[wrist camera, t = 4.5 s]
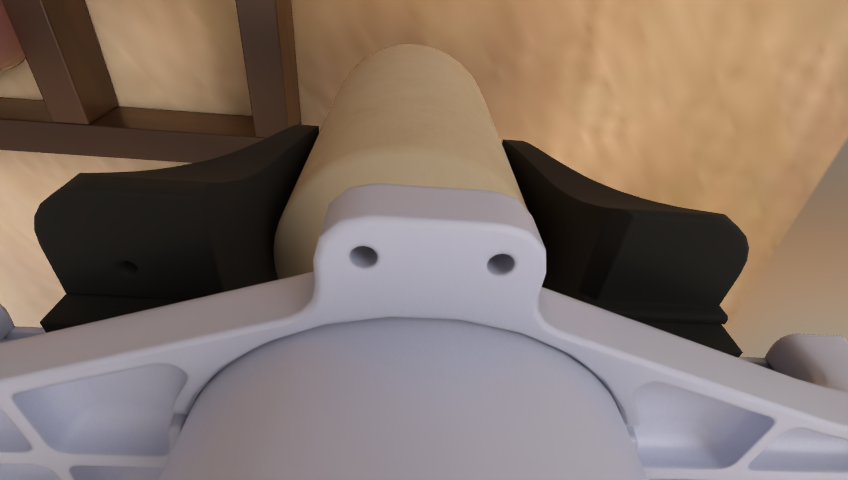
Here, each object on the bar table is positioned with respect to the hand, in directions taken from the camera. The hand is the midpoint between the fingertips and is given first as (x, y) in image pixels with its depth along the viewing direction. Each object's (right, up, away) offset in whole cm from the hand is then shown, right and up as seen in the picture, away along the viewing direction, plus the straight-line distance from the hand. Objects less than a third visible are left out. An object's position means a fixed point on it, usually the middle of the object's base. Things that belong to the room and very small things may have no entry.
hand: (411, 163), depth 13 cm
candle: (0, +2, +3) cm, 4 cm away
